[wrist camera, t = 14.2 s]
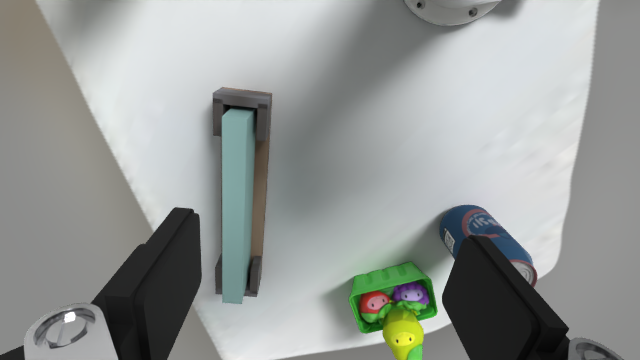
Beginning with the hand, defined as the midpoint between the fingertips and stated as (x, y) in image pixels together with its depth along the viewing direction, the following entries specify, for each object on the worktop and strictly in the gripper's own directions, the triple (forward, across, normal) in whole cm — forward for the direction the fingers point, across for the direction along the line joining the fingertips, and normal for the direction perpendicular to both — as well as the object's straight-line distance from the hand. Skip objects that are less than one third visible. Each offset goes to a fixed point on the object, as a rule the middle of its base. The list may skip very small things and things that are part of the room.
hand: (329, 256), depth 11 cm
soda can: (+28, -22, +14) cm, 39 cm away
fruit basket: (+29, -14, +26) cm, 41 cm away
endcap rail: (+28, +8, +13) cm, 32 cm away
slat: (+28, +8, +13) cm, 31 cm away
